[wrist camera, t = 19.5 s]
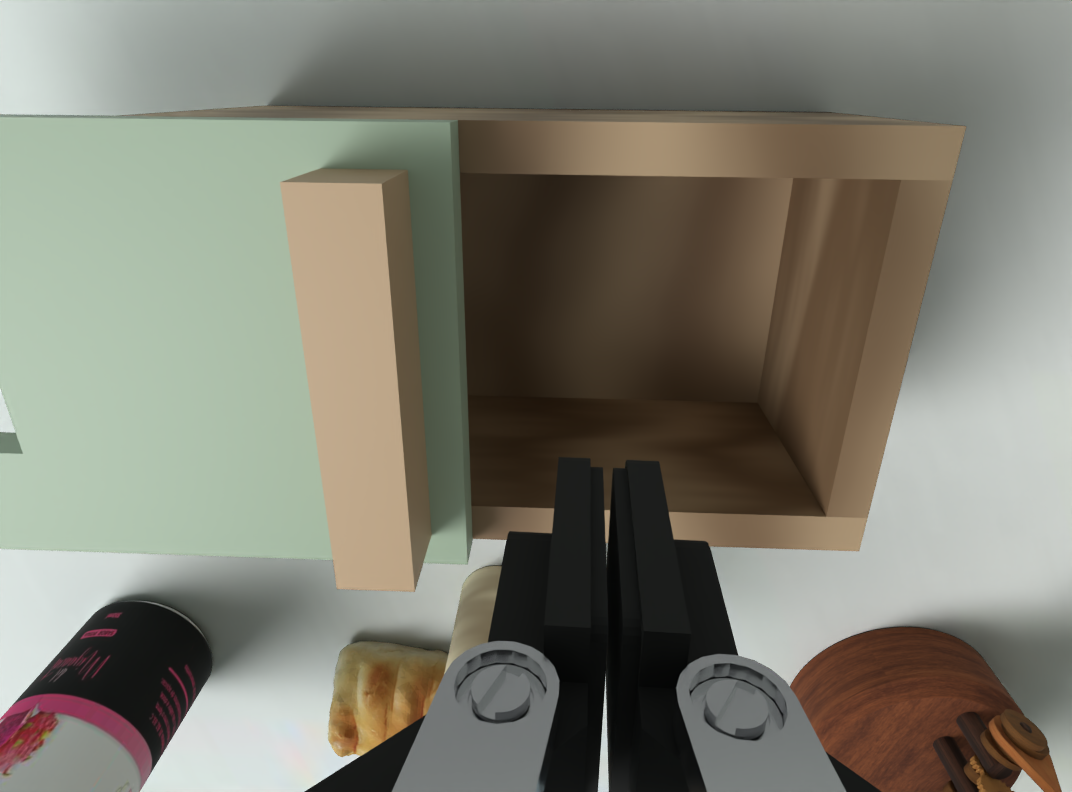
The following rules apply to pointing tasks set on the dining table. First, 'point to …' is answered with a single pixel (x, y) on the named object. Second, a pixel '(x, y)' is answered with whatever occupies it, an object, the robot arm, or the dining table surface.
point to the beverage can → (105, 703)
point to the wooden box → (688, 306)
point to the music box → (920, 715)
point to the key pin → (474, 611)
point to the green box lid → (235, 340)
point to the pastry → (380, 692)
